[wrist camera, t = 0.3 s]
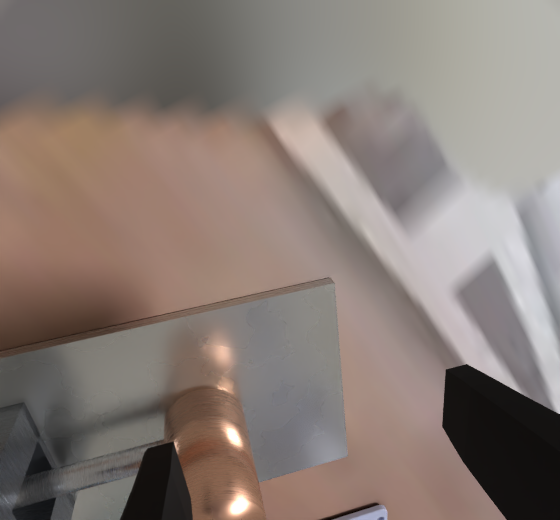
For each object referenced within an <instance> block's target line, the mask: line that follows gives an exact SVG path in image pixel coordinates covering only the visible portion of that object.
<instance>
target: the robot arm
mask: <svg viewBox="0 0 560 520" xmlns="http://www.w3.org/2000/svg"><path fill="white" fill-rule="evenodd" d="M442 427H443V428H444V430H445V432H446V434H447V435H448V437H449V439H450V441H451V442H452V444H453V446H454V448H455V449H456V451H457V452H458V454H459V456H460V457H461V459H462V461H463V462H464V464H465V465H466V466H467V468H468V469H469V470H470V472H471V473H472V475H473V476H474V477H475V479H476V480H477V481H478V483H479V484H480V485H481V486H482V488H483V489H484V490H485V492H486V493H487V494H488V496H489V497H490V498H491V500H492V501H493V502H494V504H495V505H496V506H497V508H498V509H499V510H500V511H501V513H502V514H503V515H504V517H505V518H506V519H507V520H560V414H558V413H556V412H554V411H552V410H550V409H548V408H546V407H545V406H543V405H541V404H539V403H537V402H535V401H533V400H531V399H530V398H528V397H526V396H524V395H522V394H520V393H519V392H517V391H515V390H513V389H511V388H510V387H508V386H506V385H504V384H502V383H500V382H499V381H497V380H495V379H493V378H491V377H490V376H488V375H486V374H484V373H482V372H480V371H479V370H477V369H475V368H473V367H471V366H469V365H467V364H466V365H462V366H458V367H454V368H450V369H447V370H446V376H445V392H444V408H443V424H442ZM120 520H193V514H192V503H191V497H190V493H189V490H188V487H187V484H186V480H185V477H184V474H183V471H182V467H181V464H180V461H179V458H178V454H177V451H176V448H175V445H174V441H173V442H169V443H166V444H162V445H158V446H154V447H150V448H148V449H147V450H146V451H145V452H144V455H143V458H142V461H141V464H140V467H139V470H138V473H137V476H136V479H135V482H134V485H133V487H132V490H131V493H130V495H129V498H128V500H127V503H126V506H125V508H124V511H123V513H122V515H121V518H120ZM333 520H387V510H386V508H385V506H383V505H377V506H374V507H371V508H367V509H364V510H361V511H358V512H355V513H352V514H348V515H345V516H342V517H339V518H336V519H333Z"/></svg>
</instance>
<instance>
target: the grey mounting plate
mask: <svg viewBox="0 0 560 520" xmlns="http://www.w3.org/2000/svg"><path fill="white" fill-rule="evenodd" d="M206 388H214V389H220V390H224V391H227V392H229V393H231V394H232V395H234V396H235V397H236V398H237V399H238V400H239V401H240V403H241V405H242V407H243V411H244V415H245V420H246V425H247V430H248V434H249V439H250V444H251V449H252V453H253V458H254V463H255V468H256V473H257V477H258V482H262V481H265V480H269V479H272V478H275V477H279V476H282V475H286V474H289V473H293V472H296V471H299V470H303V469H306V468H310V467H313V466H316V465H320V464H323V463H327V462H330V461H333V460H337V459H340V458H344V457H347V456H348V453H347V440H346V427H345V414H344V400H343V387H342V374H341V361H340V348H339V334H338V321H337V308H336V295H335V283H334V282H333V280H332V279H331V278H326V279H322V280H318V281H313V282H309V283H304V284H300V285H295V286H291V287H286V288H282V289H277V290H273V291H268V292H264V293H259V294H255V295H250V296H246V297H241V298H237V299H232V300H228V301H223V302H219V303H215V304H210V305H206V306H201V307H197V308H192V309H188V310H183V311H179V312H174V313H170V314H165V315H161V316H156V317H152V318H147V319H143V320H138V321H134V322H129V323H125V324H120V325H116V326H112V327H107V328H103V329H98V330H94V331H89V332H85V333H80V334H76V335H71V336H67V337H62V338H58V339H53V340H49V341H44V342H40V343H35V344H31V345H26V346H22V347H17V348H13V349H9V350H4V351H0V520H120V518H121V515H122V513H123V511H124V508H125V506H126V503H127V500H128V498H129V495H130V493H131V490H132V487H133V485H134V482H135V479H136V476H137V475H134V476H131V477H127V478H123V479H120V480H116V481H113V482H109V483H105V484H102V485H98V486H95V487H91V488H87V489H84V490H80V491H77V492H73V493H69V494H66V495H62V496H59V497H55V498H52V499H48V500H44V501H41V502H37V503H34V504H30V505H26V506H23V507H19V508H16V509H13V508H14V505H15V502H16V499H17V497H18V494H19V491H20V488H21V486H22V483H23V480H24V477H25V476H28V475H32V474H36V473H40V472H43V471H47V470H51V469H54V468H58V467H62V466H66V465H69V464H73V463H77V462H81V461H84V460H88V459H92V458H95V457H99V456H103V455H107V454H110V453H114V452H118V451H122V450H125V449H129V448H133V447H136V446H140V445H144V444H148V443H151V442H155V441H159V440H163V439H164V419H165V415H166V413H167V411H168V409H169V408H170V406H171V405H172V404H173V403H174V402H175V401H176V400H177V399H179V398H180V397H181V396H183V395H185V394H187V393H189V392H192V391H195V390H199V389H206Z"/></svg>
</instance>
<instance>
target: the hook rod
mask: <svg viewBox="0 0 560 520" xmlns="http://www.w3.org/2000/svg"><path fill="white" fill-rule="evenodd" d="M173 441H174V445H175V448H176V451H177V454H178V458H179V461H180V464H181V467H182V471H183V474H184V477H185V480H186V484H187V487H188V490H189V493H190V497H191V503H192V514H193V520H266V515H265V511H264V506H263V501H262V496H261V492H260V487H259V482H258V477H257V473H256V468H255V463H254V458H253V453H252V449H251V444H250V439H249V434H248V430H247V425H246V420H245V415H244V411H243V407H242V405H241V403H240V401H239V400H238V399H237V398H236V397H235V396H234V395H232V394H231V393H229V392H227V391H224V390H220V389H214V388H206V389H199V390H195V391H192V392H189V393H187V394H185V395H183V396H181V397H180V398H179V399H177V400H176V401H175V402H174V403H173V404H172V405H171V406H170V408H169V409H168V411H167V413H166V415H165V419H164V439H163V440H159V441H155V442H151V443H148V444H144V445H140V446H136V447H133V448H129V449H125V450H122V451H118V452H114V453H110V454H107V455H103V456H99V457H95V458H92V459H88V460H84V461H81V462H77V463H73V464H69V465H66V466H62V467H58V468H54V469H51V470H47V471H43V472H40V473H36V474H32V475H28V476H25V477H24V480H23V483H22V486H21V488H20V491H19V494H18V497H17V499H16V502H15V505H14V508H13V509H16V508H19V507H23V506H26V505H30V504H34V503H37V502H41V501H44V500H48V499H52V498H55V497H59V496H62V495H66V494H69V493H73V492H77V491H80V490H84V489H87V488H91V487H95V486H98V485H102V484H105V483H109V482H113V481H116V480H120V479H123V478H127V477H131V476H134V475H137V473H138V470H139V467H140V464H141V461H142V458H143V455H144V452H145V451H146V450H147V449H148V448H150V447H154V446H158V445H162V444H166V443H169V442H173Z"/></svg>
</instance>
